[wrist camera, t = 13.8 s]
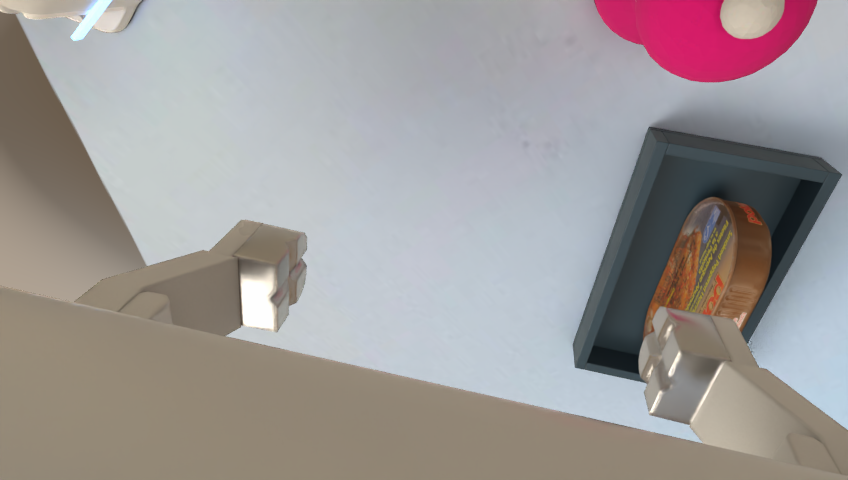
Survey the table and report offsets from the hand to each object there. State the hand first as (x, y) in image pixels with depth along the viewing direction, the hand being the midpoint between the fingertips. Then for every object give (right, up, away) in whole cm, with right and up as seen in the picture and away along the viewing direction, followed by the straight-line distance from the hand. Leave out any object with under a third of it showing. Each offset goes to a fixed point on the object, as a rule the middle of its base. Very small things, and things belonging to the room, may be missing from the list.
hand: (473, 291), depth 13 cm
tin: (+19, -1, +30) cm, 36 cm away
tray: (+19, -1, +30) cm, 36 cm away
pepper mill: (+13, +18, +21) cm, 31 cm away
